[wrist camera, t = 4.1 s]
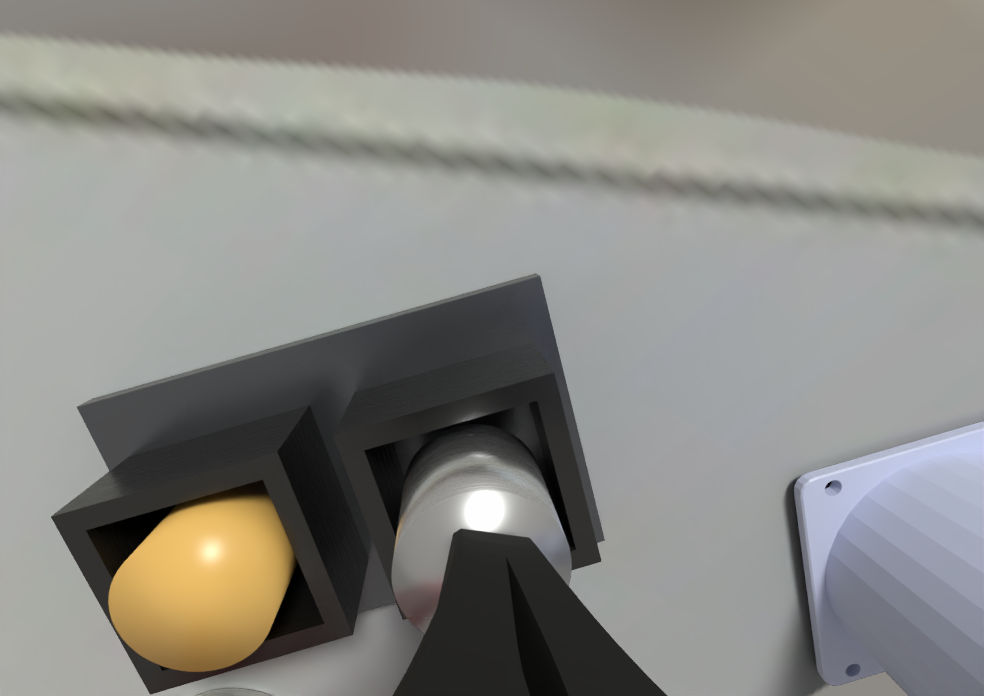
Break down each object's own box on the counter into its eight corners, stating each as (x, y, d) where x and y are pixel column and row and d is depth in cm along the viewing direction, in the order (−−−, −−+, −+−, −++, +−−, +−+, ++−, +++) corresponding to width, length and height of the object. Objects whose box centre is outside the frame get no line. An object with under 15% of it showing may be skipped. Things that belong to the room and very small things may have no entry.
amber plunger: (283, 451, 13) (239, 518, 10) (326, 557, 14) (297, 646, 11) (159, 487, 13) (79, 564, 10) (209, 591, 14) (149, 689, 11)
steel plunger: (522, 407, 12) (548, 469, 9) (555, 527, 13) (588, 619, 10) (384, 447, 12) (366, 522, 9) (427, 565, 13) (422, 669, 10)
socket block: (535, 273, 14) (564, 291, 11) (598, 528, 16) (639, 608, 13) (92, 398, 14) (-18, 456, 11) (213, 641, 16) (154, 753, 13)
